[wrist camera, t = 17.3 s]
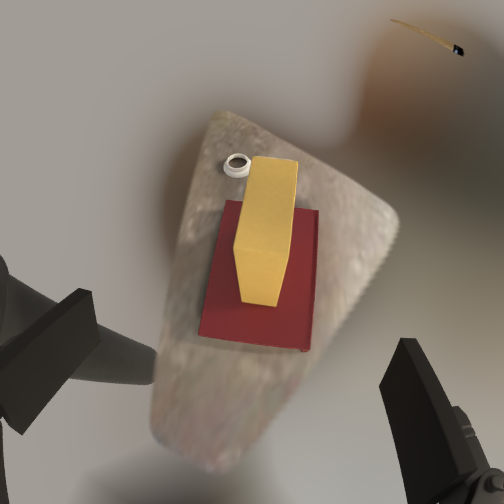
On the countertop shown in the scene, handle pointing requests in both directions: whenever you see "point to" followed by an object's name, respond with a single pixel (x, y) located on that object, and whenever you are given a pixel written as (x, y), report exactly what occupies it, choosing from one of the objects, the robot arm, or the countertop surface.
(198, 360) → the countertop surface
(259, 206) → the small book
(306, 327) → the big book
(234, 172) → the upside-down white bowl
